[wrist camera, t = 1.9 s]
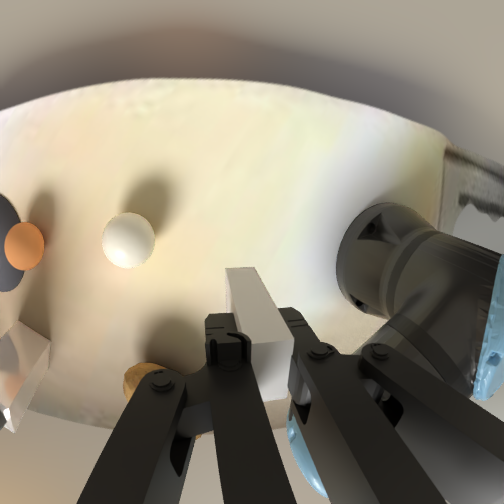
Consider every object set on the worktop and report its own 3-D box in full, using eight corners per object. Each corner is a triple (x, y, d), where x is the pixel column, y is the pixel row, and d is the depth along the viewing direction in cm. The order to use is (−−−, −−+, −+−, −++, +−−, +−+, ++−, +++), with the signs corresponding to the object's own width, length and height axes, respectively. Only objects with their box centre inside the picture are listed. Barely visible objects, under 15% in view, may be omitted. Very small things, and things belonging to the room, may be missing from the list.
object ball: (48, 216, 25) (24, 225, 19) (55, 261, 26) (33, 277, 21) (18, 220, 24) (-7, 229, 19) (24, 262, 25) (2, 277, 20)
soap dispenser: (17, 358, 28) (-38, 449, 8) (18, 319, 27) (-58, 416, 6) (47, 377, 30) (2, 479, 10) (50, 341, 29) (-14, 455, 8)
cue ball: (157, 207, 27) (147, 215, 22) (160, 257, 29) (152, 275, 23) (109, 210, 26) (90, 219, 21) (114, 259, 28) (98, 277, 23)
